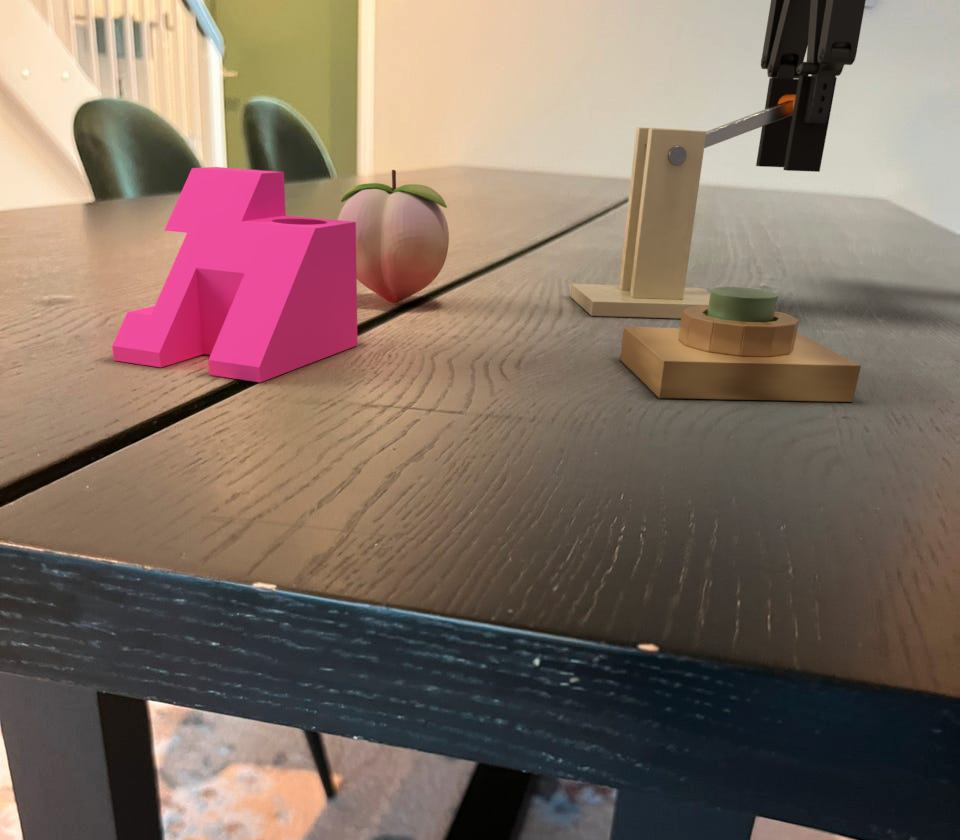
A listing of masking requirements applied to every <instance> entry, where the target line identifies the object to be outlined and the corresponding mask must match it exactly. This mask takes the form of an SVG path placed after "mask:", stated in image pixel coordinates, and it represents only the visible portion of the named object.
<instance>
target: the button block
mask: <svg viewBox="0 0 960 840" xmlns="http://www.w3.org/2000/svg"><path fill="white" fill-rule="evenodd" d="M708 307H709V305H701V306H691V307H688V308H686V309H685V310H683V311H682V316H681V319H680V324H679V327H660V326H659V327H655V326H651V327H650V326H623V330H622V340H621V348H620V356H619V360H620V361H621V362H622V363H623V365H625V367H627V368H628V369H629V371H631V372H632V373H633V374H634V375H635V376H636V377H637V378H638V379H639V380H640V381H641V382H642V383H643V384H644V385H645V386H646V387H647V388H648V389H649V390H650V391H651V392H652V393H653V394H654V395H655V396H656V397H657V398H658V399H673V400H675V399H679V400H680V399H681V400H682V399H683V400H725V401H726V400H727V401H728V400H729V401H733V400H734V401H775V402H776V401H777V402H778V401H779V402H783V401H784V402H787V401H788V402H830V403H853V401H854V399H855V394H856V390H857V384H858V380H859V376H860V372H861V367H862V365H861V364H859V363H857V362H855V361H853V360H852V359H849V358H848V357H845V356H844V355H841V354H839V353H838V352H836V351H834V350H832V349H831V348H829V347H826V346H825V345H823V344H821V343H819V342H817V341H815V340H813V339H812V338H809V337H807V336H805V335H804V334H801V333H800V332H798V329H799V323H800V319H799V318H797V317H795V316H792V315H790V314H788V313H786V312H781V311H776V310H775V313H774V319H773V321H772V322H740V321H732V320H724V319H719V318H715V317H711V316H707V313H708Z"/></svg>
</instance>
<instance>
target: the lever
mask: <svg viewBox="0 0 960 840" xmlns="http://www.w3.org/2000/svg"><path fill="white" fill-rule="evenodd" d="M795 98H796V94H794V95H784V96H782V97H781V98H780V100H779V101H778V105H775V106H773V107H770V108H767V109H765V108H764V109H762V110H759V111H756V112H754V113H752V114H751V113H750V114H749V115H746V116H744V117H741V118H738V119H736V120H732V121H729V122H728V123H725V124H722V125H720V126H717V127H715V128H712V129H710V130H707V131H706V138H705V146H704V149H706V148H709V147H712V146H714V145H717V144H719V143H723V142H725V141H727V140H731V139H732V138H736V137H738V136H741V135H743V134H746V133H748V132H749V133H750V132H751V131H754V130H756V129H760V128H762V126H765V125H767V124H770V123H773V122H775V121H778V120H781V119H783V118H786V117H789V116H791V115H793V110H794V104H795ZM645 149H647V144H645Z"/></svg>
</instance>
